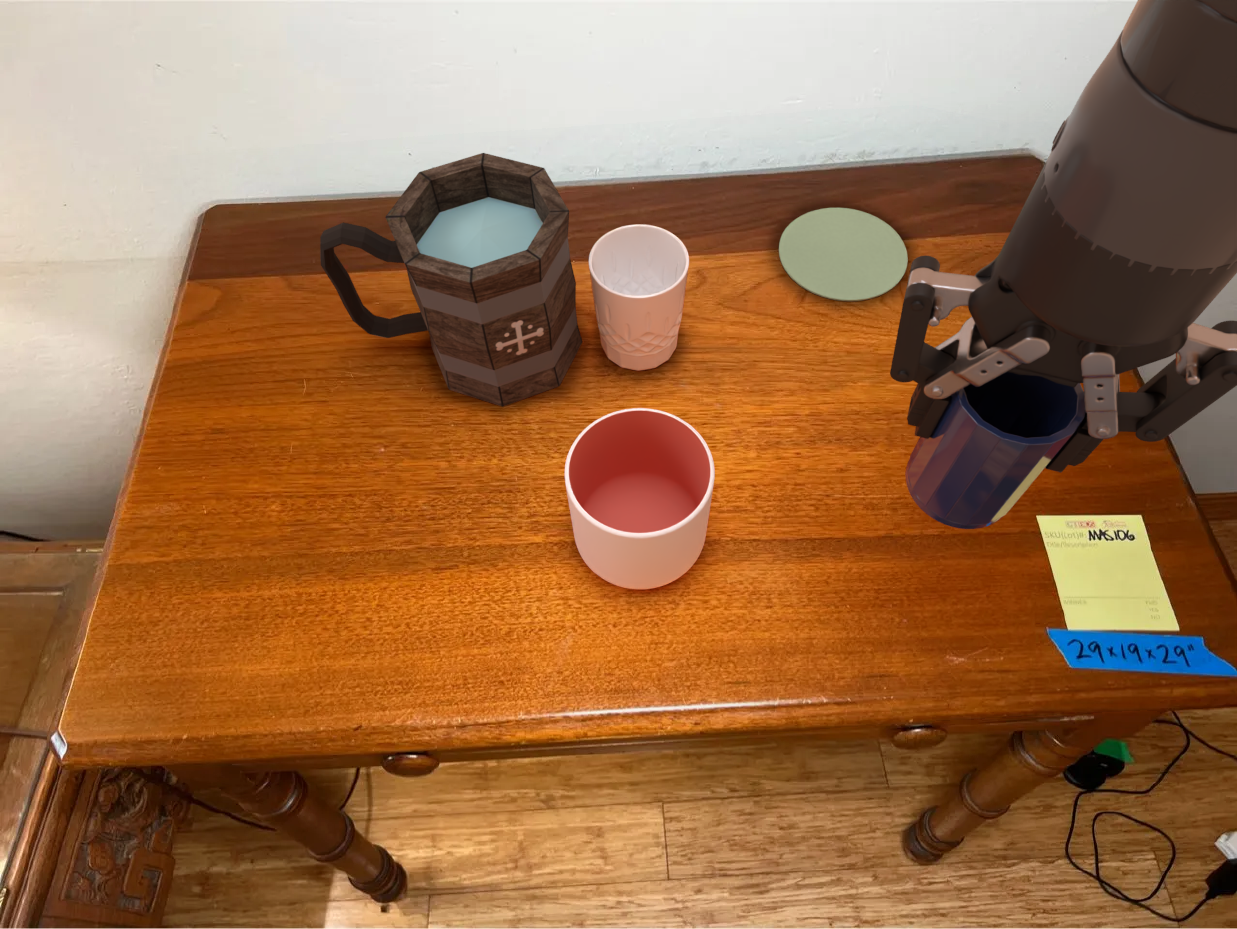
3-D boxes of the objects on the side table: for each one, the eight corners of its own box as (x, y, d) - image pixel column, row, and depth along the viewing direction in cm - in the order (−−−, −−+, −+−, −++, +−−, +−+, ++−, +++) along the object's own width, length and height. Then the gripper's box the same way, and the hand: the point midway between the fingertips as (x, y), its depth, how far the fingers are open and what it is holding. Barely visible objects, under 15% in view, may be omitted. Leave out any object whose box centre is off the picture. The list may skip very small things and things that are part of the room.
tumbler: (1017, 453, 48) (1088, 358, 40) (1007, 542, 45) (1082, 458, 37) (913, 427, 49) (963, 330, 41) (897, 512, 46) (948, 425, 38)
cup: (729, 518, 63) (742, 450, 54) (659, 620, 59) (662, 565, 50) (622, 457, 66) (619, 384, 58) (549, 550, 62) (534, 487, 53)
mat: (916, 223, 79) (916, 222, 79) (895, 314, 73) (896, 312, 73) (794, 198, 81) (794, 196, 81) (765, 284, 75) (765, 282, 75)
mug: (582, 285, 76) (570, 149, 63) (582, 404, 69) (568, 279, 56) (373, 291, 76) (318, 158, 63) (351, 411, 69) (285, 288, 56)
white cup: (597, 306, 74) (591, 223, 66) (683, 308, 74) (688, 224, 65) (592, 376, 70) (585, 296, 62) (683, 377, 70) (689, 298, 61)
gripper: (935, 214, 28) (837, 463, 42) (1407, 308, 25) (1131, 540, 40) (962, 84, 32) (863, 354, 46) (1378, 154, 29) (1134, 418, 43)
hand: (988, 439), depth 43 cm, fingers closed on tumbler, 6 cm apart
